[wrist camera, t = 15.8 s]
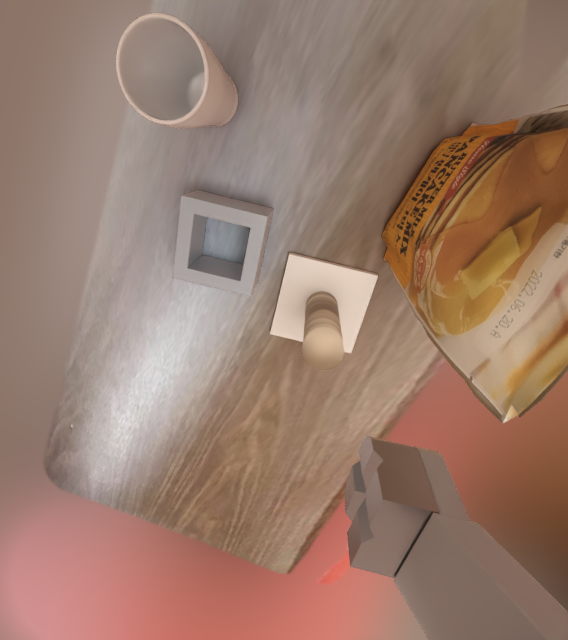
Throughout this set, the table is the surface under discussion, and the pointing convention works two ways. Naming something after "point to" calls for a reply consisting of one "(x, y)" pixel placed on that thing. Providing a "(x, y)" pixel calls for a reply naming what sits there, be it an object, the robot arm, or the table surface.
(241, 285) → the grey square frame
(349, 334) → the square mat
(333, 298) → the birch pin
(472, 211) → the pancake mix bag
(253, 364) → the table surface
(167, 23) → the drinking glass
